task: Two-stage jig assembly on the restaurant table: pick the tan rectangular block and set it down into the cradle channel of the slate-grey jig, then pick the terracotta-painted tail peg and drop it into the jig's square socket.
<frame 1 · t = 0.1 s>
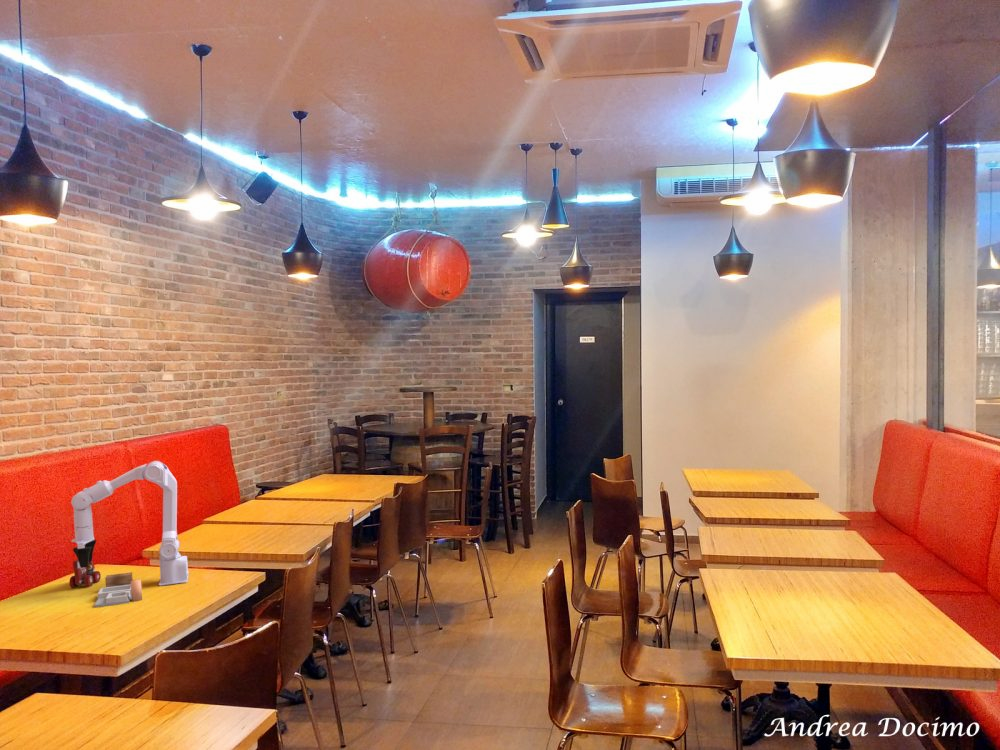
hand: (86, 564, 275), 10 cm above the table, fingers open, 7 cm apart
tan rectangular block: (119, 589, 277), on the table
jig: (115, 599, 266), on the table
tail peg: (136, 599, 264), on the table
toy fire truck: (85, 585, 285), on the table
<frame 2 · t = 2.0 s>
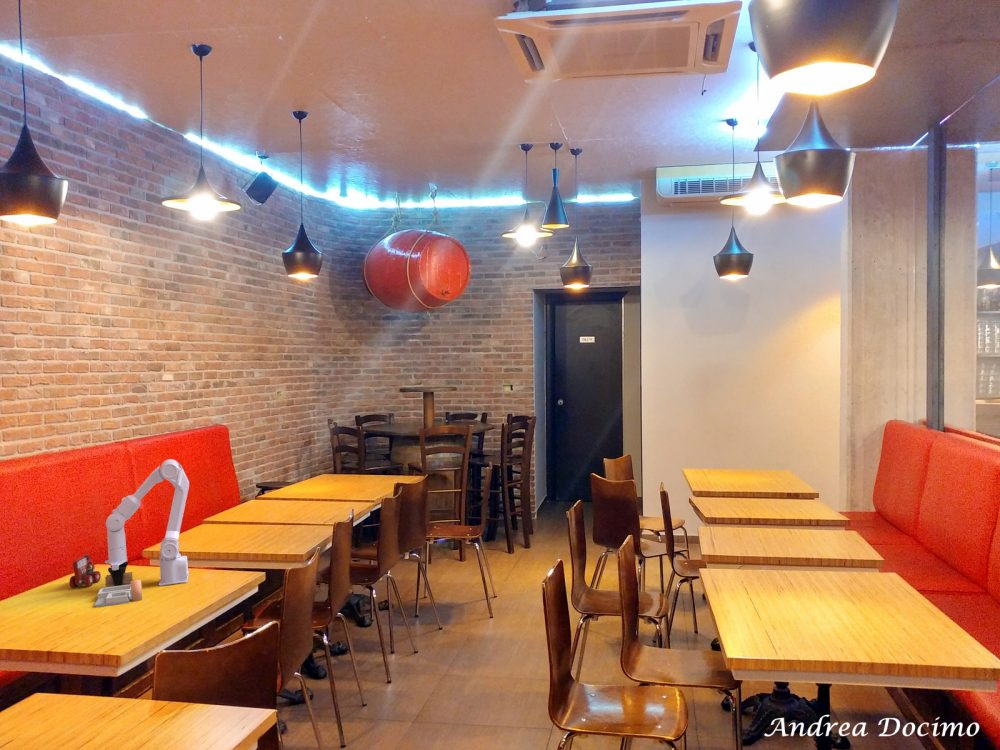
hand: (119, 585, 277), 1 cm above the table, fingers closed on tan rectangular block, 3 cm apart
tan rectangular block: (119, 589, 277), on the table, touching gripper
everything else where it was.
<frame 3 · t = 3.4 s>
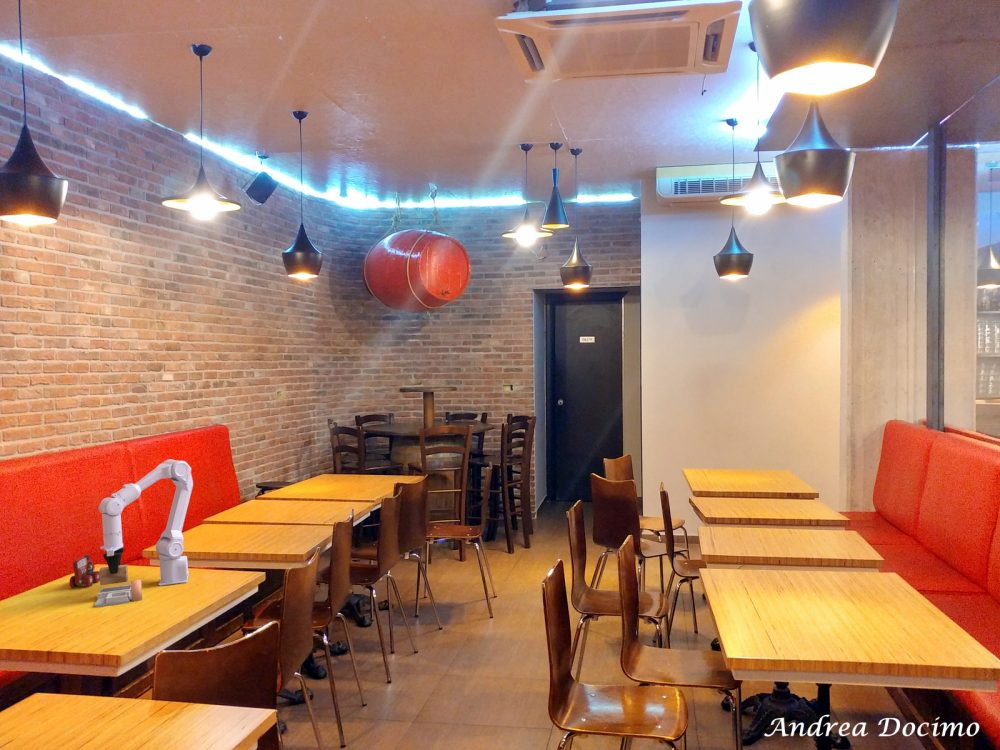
hand: (114, 571, 269), 8 cm above the table, fingers closed on tan rectangular block, 3 cm apart
tan rectangular block: (114, 582, 269), point 5 cm above the table, touching gripper
everything else where it was.
when the fingers open (3 cm above the table, at t = 4.7 s): tan rectangular block stays where it is, resting on jig.
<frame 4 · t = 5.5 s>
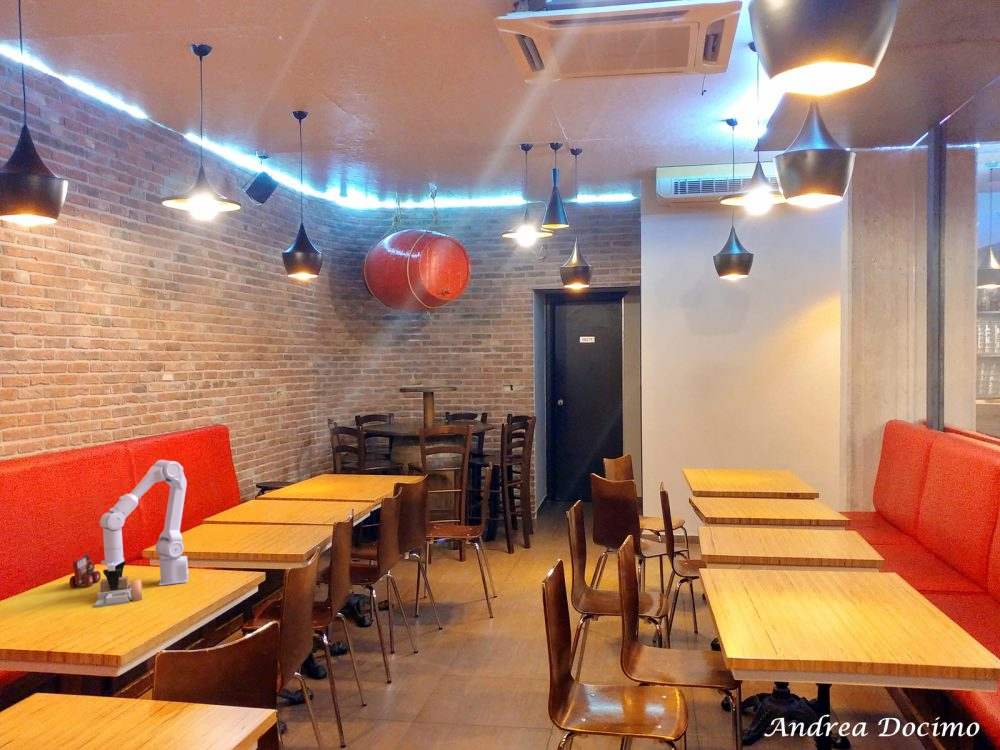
hand: (115, 586, 269), 3 cm above the table, fingers open, 7 cm apart
tan rectangular block: (115, 594, 269), point 1 cm above the table, touching jig
everything else where it was.
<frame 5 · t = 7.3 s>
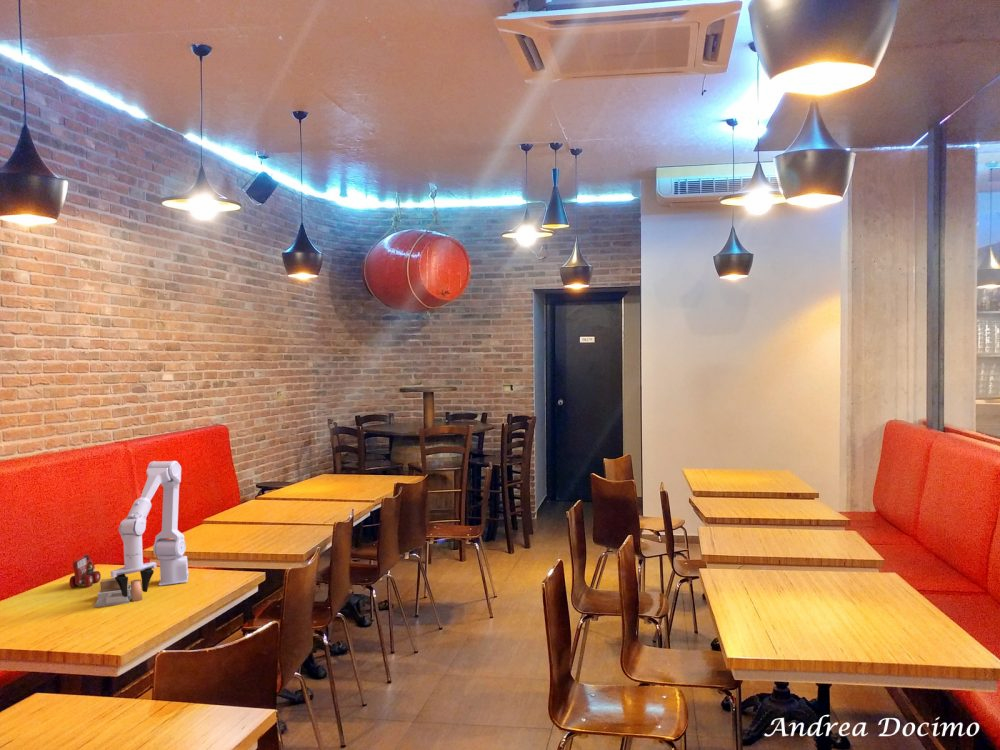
hand: (135, 593, 263), 2 cm above the table, fingers open, 6 cm apart
nothing on the table moved.
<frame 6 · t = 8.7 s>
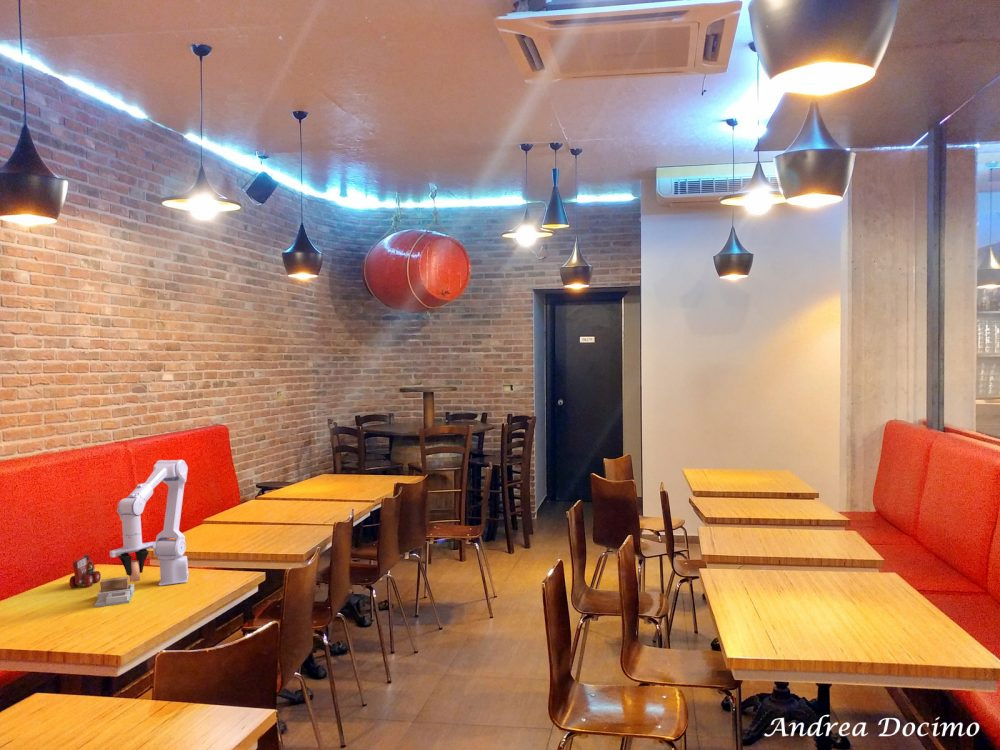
hand: (134, 573, 264), 9 cm above the table, fingers closed on tail peg, 3 cm apart
tail peg: (134, 580, 264), point 7 cm above the table, touching gripper
everything else where it was.
when the fingers open (3 cm above the table, at t = 10.7 s): tail peg stays where it is, resting on jig.
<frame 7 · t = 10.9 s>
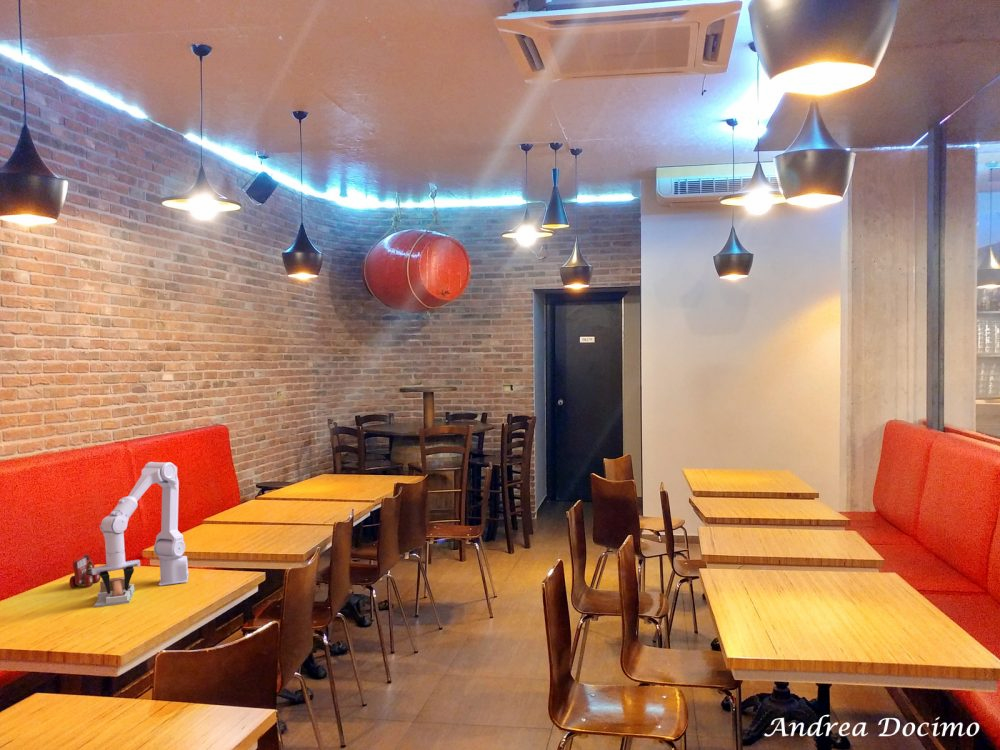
hand: (117, 591, 263), 3 cm above the table, fingers open, 5 cm apart
tail peg: (118, 599, 263), point 1 cm above the table, touching jig
everything else where it was.
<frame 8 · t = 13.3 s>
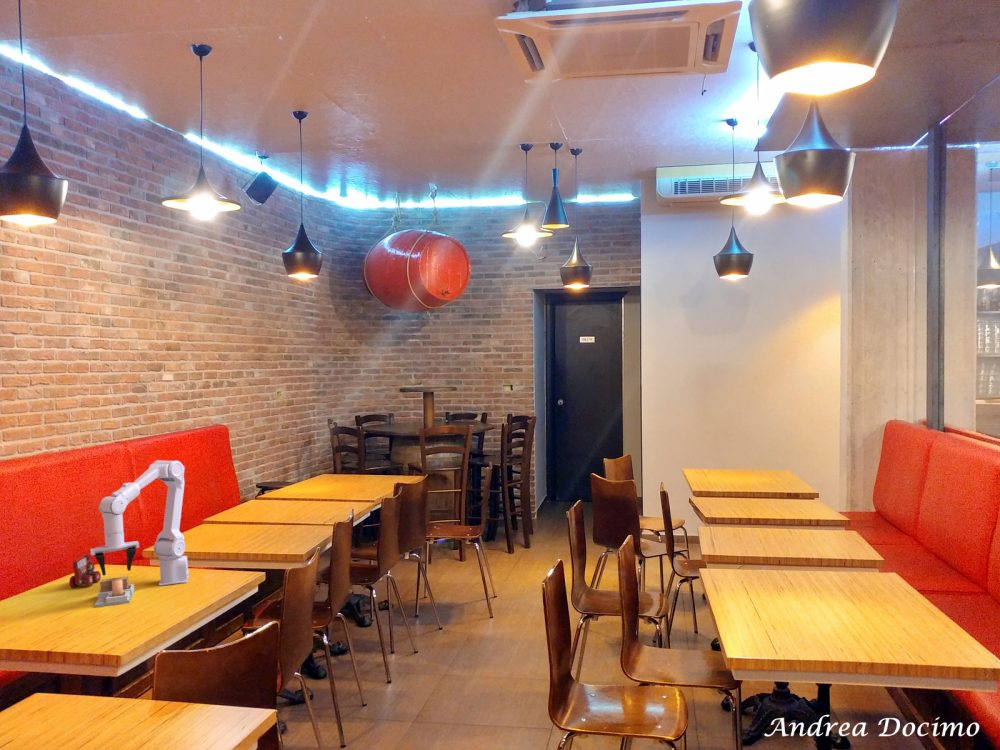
hand: (116, 572, 262), 10 cm above the table, fingers open, 7 cm apart
nothing on the table moved.
at the end: tan rectangular block 0.4 cm from the target spot on the jig, point 0.8 cm above the jig's base; tail peg 0.1 cm from the target spot on the jig, point 0.8 cm above the jig's base; tail peg tilted 0° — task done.
